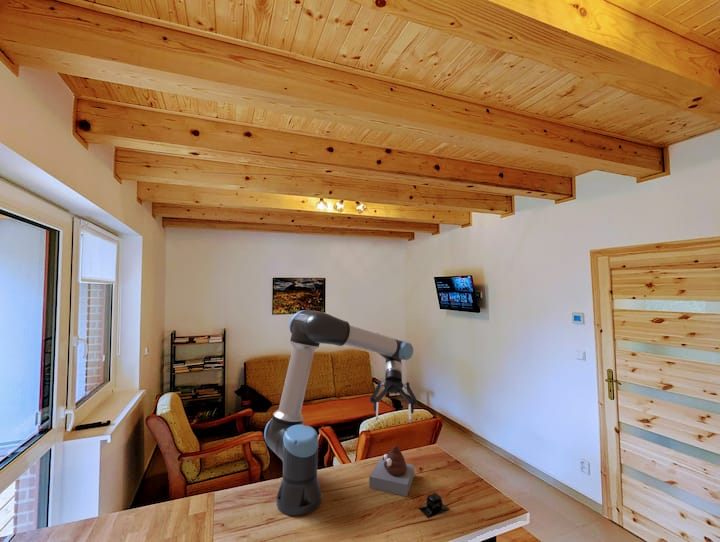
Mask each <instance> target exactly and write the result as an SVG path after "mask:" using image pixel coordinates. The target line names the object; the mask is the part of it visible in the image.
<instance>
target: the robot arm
mask: <svg viewBox="0 0 720 542" xmlns="http://www.w3.org/2000/svg"><path fill="white" fill-rule="evenodd" d="M289 320H290V321H289V323H288V324H289V325H288V328H289V332H290V333H291V336H290V341H289V343H290V344H291V346H292V348H291V353H290V358H289V362H288V367H287V370H286V376H285V380H284V384H283V389H282V393H281V398H280V402H279V407H278V409H277V410H276V411H274V412H273V414H272V418H271V419H270V420H269V421H268V422H267V423H266V425H265V428H264V432H263V433H264V434H263V437H264V441H265V443H266V445H267V447H268V448H269V450H271V451H272V452H273V453H274V454H275V455H276V456H277V458H279V459H280V460H281V461H282V480H281V483H280V484H279V487H278V491H277V494H276V507H277V509H278V510H279V512H281V513H282V514H285V515H288V516H295V517H297V516H305V515H307V514H309V513H312V512H314V511H315V510H317V509H318V507H320V505H321V503H322V497H323V496H322V494H323V493H322V489H321V485H320V482H319V478H318V456H319V455H318V453H319V449H318V448H319V439H318V437H319V436H318V432H317V431H316V429H315V428H313V427H312V426H310V425H305V424H304V416H303V414H302V409H303V404H304V400H305V399H304V398H305V395H306V390H307V387H308V381H309V376H310V373H311V367H312V363H313V359H314V354H315V351H316V350H317V349H318V348H319V347H320V344H325V345H326V344H327V345H334V346H338V347H343V346H344V345H345V346H350V347H354V348H356V349H360V350H365V351H368V352H372V353H376V354H379V355H380V357H382V358H384V359H385V368H384V369H385V372H384V373H385V374H384V375H385V378H384V379H385V380H384V382H383V381H381V380H379V381H378V382H377V386H376V387H375V390H374V391H373V393H372V394H371V396H370V398H369V402H370V403H371V404H373V411H374V412H375V420H376V421H378V420H379V402H380V401H382V399H383V398H384V397H385V396H386V395H388V394H399V395H400V397H402V398H403V399H404V401H405V402H406V403H408V422H409V423H412V414H414V412H415V411H414V406H417V405H418V399H417V398H416V397H417V396H415V394H414V392H413V391H412V388H411V387H410V382H408V381H407V382H406V383H403V374H402V372H403V369H402V367H403V366H402V365H403V364H402V360H405V361H408V360H410V359H411V358H412V356H413V354H414V347H413V345H412V343H410V342H407V341H404V340H403V341H402V340H399V339H396V338H393V337H390V336H386V335H384V334H383V335H382V334H380V333H378V332H373V331H370V330H367V329H364V328H359V327H356V326H354V325H351V324H350V323H349V322H348V321H346V320H343V319H341V318H338V317H336V316H333V315H331V314H329V313H326V312H323V311H316V310H311V309H304V310H299V311H297V312H296V313H294V314H293V315H292V317H291V318H290V319H289ZM383 387H384V389H383V390H382V391H381V392H380V390H381V388H383ZM403 388H404V389H405V390H406V391H407V393H408V394H407V393H406V392H405V391H404V389H403Z"/></svg>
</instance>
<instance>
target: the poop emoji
mask: <svg viewBox="0 0 720 542" xmlns="http://www.w3.org/2000/svg"><path fill="white" fill-rule="evenodd" d="M382 459H383V460H384V467H385V468H386V470H387V471H388V473H389V474H391V475H394V476H401V475H404V474H405V473H406V470H407V466H406V464H407V463H406V461H405V457H404V455H403V453H402V452H401V450H400V447H398V445H394V446H392V447H391V449H390V450H389V452H387V453H385V454H383V456H382Z"/></svg>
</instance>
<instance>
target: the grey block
mask: <svg viewBox="0 0 720 542" xmlns="http://www.w3.org/2000/svg"><path fill="white" fill-rule="evenodd" d="M406 466H407V470H406V473H405V474H404V475H401V476H394V475H391V474H389V473H388V471H387V470H386V468H385V467H384V460H383V458H382V457H381V458H380V457H379V459H378V461H377V463H376V464H375V466H374V467H373V469H372V472H371V473H370V475H369V479H368V480H369V481H368V483H369V486H368V487H369V489H373V490H378V491H382V492H386V493H391V494H394V495H399V496H403V497H408V495H409V492H410V488H411V486H412V483H413V480H414V478H415V464H411V463H406Z"/></svg>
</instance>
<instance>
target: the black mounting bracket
mask: <svg viewBox="0 0 720 542" xmlns="http://www.w3.org/2000/svg"><path fill="white" fill-rule="evenodd" d="M426 497H427V498H426V505H423V506H420V507H417V509H418V510H420V512H421V513H422V514H423V515H424V516H425V517H426V518H427V519H431V518H433V517H436V516H438V515H441V514H443V513H446V512H448V511H451V509H450V508H449V507H448V506H446V504H444V502H443V499H442V497H441V496H440V495H439V494H437V493H436V492H434V493H431V494H427V496H426Z"/></svg>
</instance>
